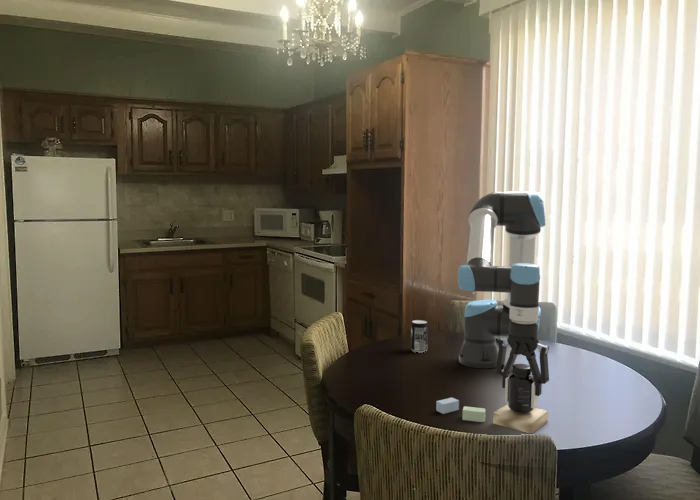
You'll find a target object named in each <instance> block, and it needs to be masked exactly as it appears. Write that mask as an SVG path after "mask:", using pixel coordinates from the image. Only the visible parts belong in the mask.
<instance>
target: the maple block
mask: <svg viewBox="0 0 700 500" xmlns="http://www.w3.org/2000/svg"><path fill="white" fill-rule="evenodd" d="M492 415H493V416H492V417H493V418H492V424H493V425H498V426H501V427H505V428H508V429H513V430H516V431H518V432H523V433H527V434H530V433H533V434H534V433H535V432H536V431H538V430H539V429H540V428H542V427H543V426H544V425H545V424H547V423H548V422H549V410H545V409H542V408H537V407H535V408H534V409H533V410H532V411H531V412H527V413H520V412H515V411H513V410H511V409H510V408H509V407H508V403H506V404H505V405H503V406H501V407H500V408H498V409H497V410H495V411H494V412H493V413H492Z"/></svg>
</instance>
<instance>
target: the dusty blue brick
mask: <svg viewBox="0 0 700 500" xmlns="http://www.w3.org/2000/svg"><path fill="white" fill-rule="evenodd" d="M435 405H436V407H435V409H436V412H439V413H440V414H442V415H444V414H449V413H452V412H457V411H459V410H460V400H459V399H456V398H454V397H448V398H444V399H439V400H436V404H435Z"/></svg>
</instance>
